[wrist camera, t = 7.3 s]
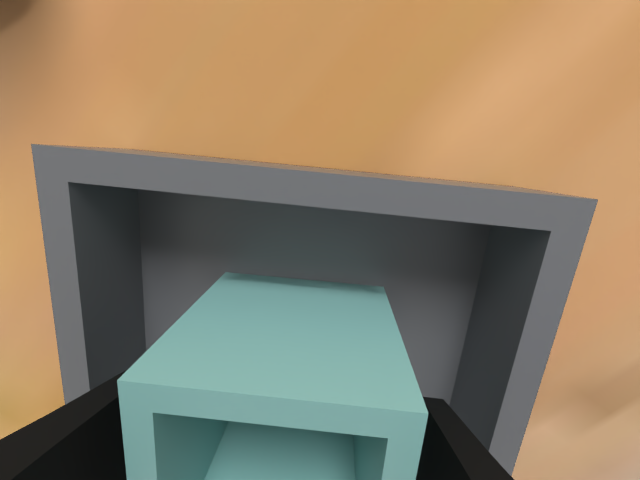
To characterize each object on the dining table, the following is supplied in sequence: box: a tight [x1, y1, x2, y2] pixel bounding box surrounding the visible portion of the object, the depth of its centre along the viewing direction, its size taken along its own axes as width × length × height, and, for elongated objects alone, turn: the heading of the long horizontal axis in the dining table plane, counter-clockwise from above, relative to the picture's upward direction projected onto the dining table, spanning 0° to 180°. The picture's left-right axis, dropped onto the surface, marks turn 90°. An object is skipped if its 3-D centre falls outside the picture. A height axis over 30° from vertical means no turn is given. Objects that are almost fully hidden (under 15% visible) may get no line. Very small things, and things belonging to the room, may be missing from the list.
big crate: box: [31, 144, 598, 476], centre depth 11 cm, size 13×13×4 cm
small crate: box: [117, 272, 428, 480], centre depth 9 cm, size 5×5×6 cm
